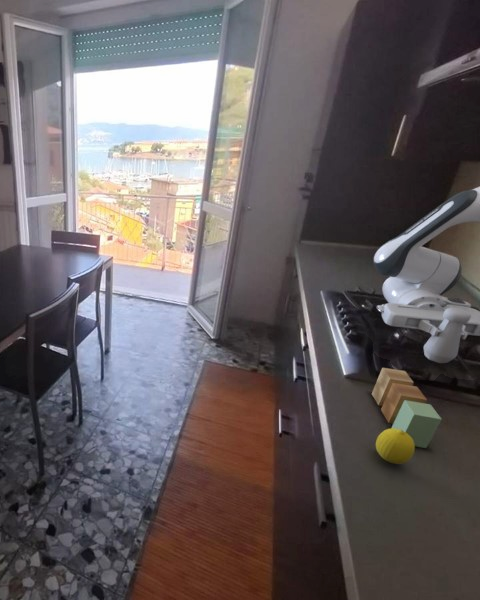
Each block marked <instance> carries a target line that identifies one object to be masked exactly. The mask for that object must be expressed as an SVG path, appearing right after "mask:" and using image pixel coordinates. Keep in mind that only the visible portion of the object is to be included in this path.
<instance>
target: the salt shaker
mask: <svg viewBox="0 0 480 600" xmlns="http://www.w3.org/2000/svg"><path fill="white" fill-rule="evenodd" d="M443 317H444V318H445V319H444V320H443V322H442V323H441V324H440V325H439V327H438V328H439V329H441V330H442V332H441V334H440V335H439V336H432V335H430V337H429V338H428V340H427V341H426V342H425V343H424V345H423V353H424V356H425V358H427V359H428V360H429V361H432V362H435V363H438V364H448V363H449V362H451V361H453V360H455V358H456V357H458V354H459V348H460V343H461V342H460V341H461V339H460V337H461V332H462V327H463V323H467V322H468V321H469V319H470V318H471V314H470V313H469V312H468V311H466V310H463V309H459V308H448V309H446V310H445V311H444V313H443Z"/></svg>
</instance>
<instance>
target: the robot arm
mask: <svg viewBox="0 0 480 600" xmlns="http://www.w3.org/2000/svg"><path fill="white" fill-rule="evenodd" d="M477 222H478V223H479V222H480V186H477V187H474V188H473V189H469V190H468V189H467V190H463V191H461V192H458V193H456V194H455V195H453V196H451V197H450V198H448V199H447V200H445V201H444V202H443V203H441V204H440V205H438V206H437V207H436V208H434V209H433V210H431V211H429V212H428V213H427V214H426V215H425V216H424V217H422V218H420V219H419V220H418V221H417V222H415V223H414V224H412V225H411V226H410V227H408V228H407V229H406V230H405V231H403V232H402V233H400V234H398V235H397V236H396V237H394V238H392V239H390V240H388V241H387V242H385V243H384V244H382V245H381V246H380V247H379V248H377V250H376V252H375V253H374V255H373V258H372V261H373V265H374V268H375V269H376V271H377V272H378V274H379V275H383V276H387V277H388V278H386V280H385V281H384V282H383V283H382V287H381V289H382V294H383V297H384V299H385V300H386V301H387V303H382V304H378V305H376V309H377V311H378V312H380V313H381V318H382V320H383V322H384V323H385V324H386V325H387V326H390V327H395V328H396V327H397V328H405V329H413V330H420V331H423V332H426V333H428V334H430V336H439V335H440V334H441V332H442V330H441V329H439V328H438V327H439V325H440V324H441V323H442V322H443V320H444V319H445V318H444V317H443V313H444V311H445V310H446V309H448V308H459V309H463V310H466V311H468V312H469V313H470V314H471V318H470V319H469V321H468V322H467V323H463V327H462V332H461V337H460V340H466V338H467V337H468V336H476V337H480V310H479V309H478V310H477V309H475V308H473V307H472V304H471V303H470V302H468V301H465V300H460V299H455V298H451V297H447V296H444V294H446V293H447V292H449V291H450V290H452V289H453V288H454V286H455V285H457V283H458V282H459V281H460V279H461V277H462V272H463V268H462V262H461V261H460V259H459V258H458V257H456V256H454V255H451V254H449V253H445V252H443V251H438V250H434V249H431V248H429V247H424V245H425V244H426V243H428V242H429V241H431V240H433V239H434V238H435V237H437V236H438V235H440V234H441V233H442V232H445V230H447V229H449V228H451V227H454V226H456V225H460V224H466V223H477Z"/></svg>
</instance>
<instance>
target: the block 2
mask: <svg viewBox="0 0 480 600" xmlns="http://www.w3.org/2000/svg"><path fill="white" fill-rule="evenodd" d="M404 400H407V401H413V402H418V403H424V404H427V400H428V399H427V398H426V396H425V395H424V394H423V392H422V391H421V390H420V389H419V387H418V386H417V385H416V386H415V385H412V386H409V385H403V384H397V383H393V384H392V386H391V388H390V390H389V393H388V395H387V397H386V399H385V402H384V404H383V406H381V408H380V411H381V412H382V415H383V416H384V417H385V419H386V421H387V423H388V424H391V425H393V424H394V421H395V419H396V417H397V415H398V413H399V411H400V409H401V407H402V404H403V402H404Z"/></svg>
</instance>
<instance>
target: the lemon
mask: <svg viewBox="0 0 480 600" xmlns="http://www.w3.org/2000/svg"><path fill="white" fill-rule="evenodd" d="M375 449H376V452H377V453H378V455H379V456H380V457H381V458H382V459H383V460H384V461H386V462H388V463H390V464H394V465H395V464H398V465H401V464H405V463H407V462H409V461H410V460H411V459H412V458H413V456H414V454H415V450H416V446H415V444H414V441H413V439H412V438H411V437H410V435H408V434H407V433H406V432H404V431H402V430H399V429H394V428H393V429H392V428H387V429H384V430H383V431H381V432H380V434H379V435H378V436H377V437H376V441H375Z"/></svg>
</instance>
